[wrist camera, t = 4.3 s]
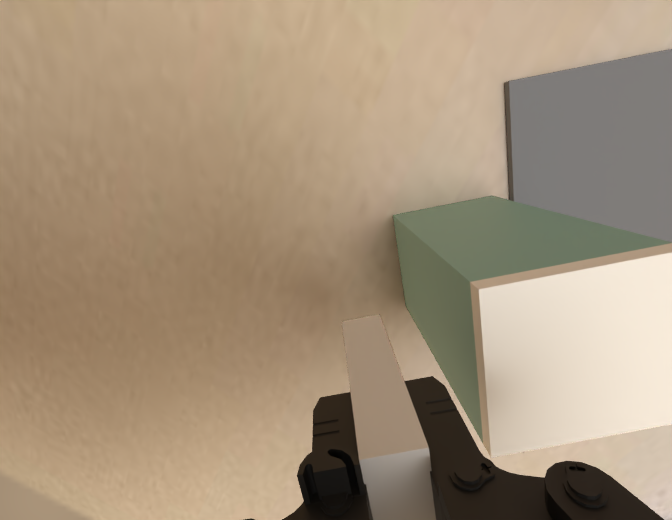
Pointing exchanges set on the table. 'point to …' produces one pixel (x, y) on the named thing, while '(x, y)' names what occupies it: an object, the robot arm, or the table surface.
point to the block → (541, 320)
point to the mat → (596, 143)
